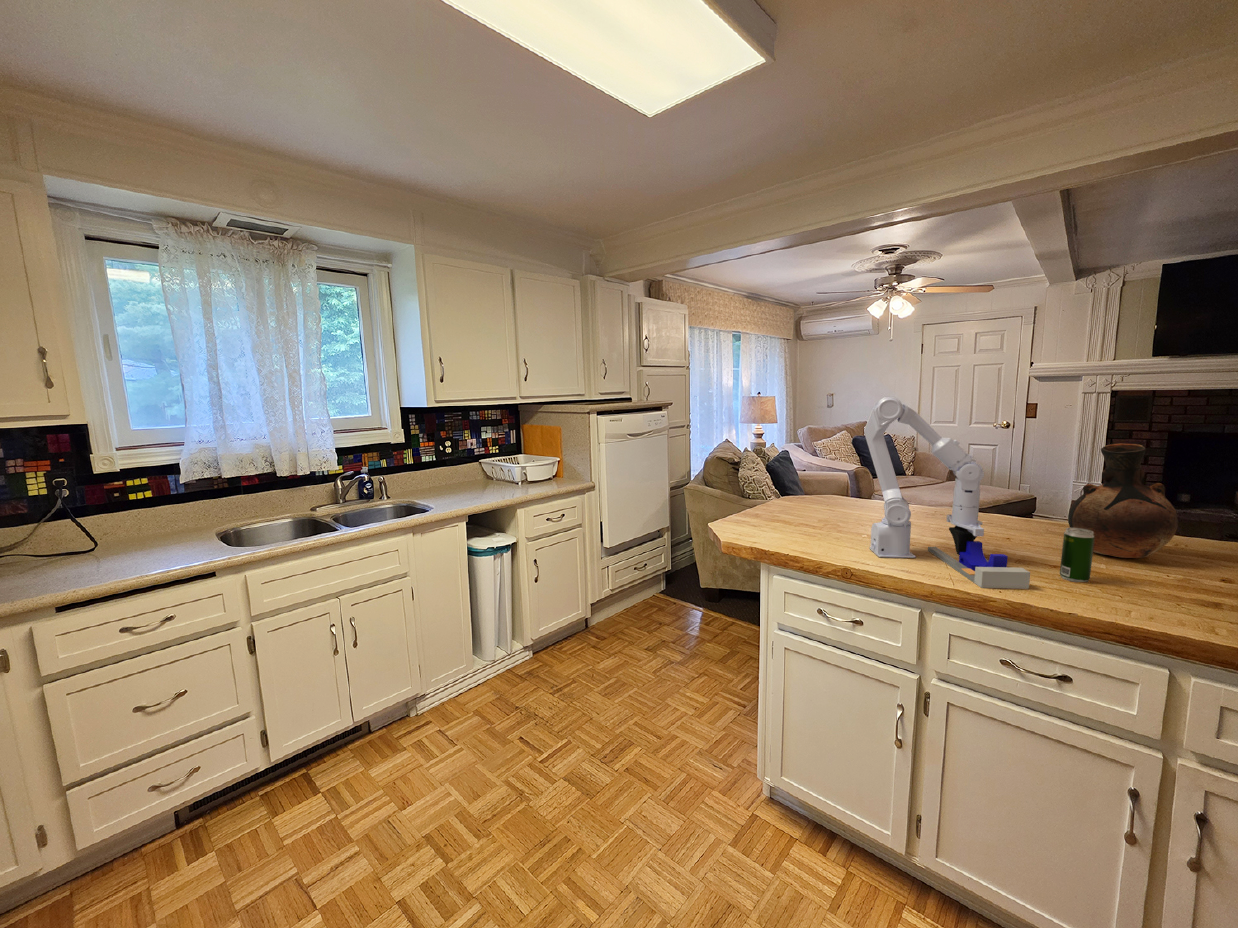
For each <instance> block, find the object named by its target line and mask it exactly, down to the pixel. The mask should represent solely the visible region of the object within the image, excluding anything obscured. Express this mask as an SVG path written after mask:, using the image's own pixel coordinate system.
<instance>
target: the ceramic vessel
mask: <svg viewBox="0 0 1238 928" xmlns="http://www.w3.org/2000/svg"><path fill="white" fill-rule="evenodd" d="M1146 451H1147V448H1146V446H1143V445H1141V444H1136V443H1114V444H1113V443H1112V444H1107V445H1104V446H1103V447H1101V448H1100V452H1101V454H1102V456H1103V458H1104V461H1105V465H1106V468H1105V469H1103V471H1102V472H1101V479H1102V480H1104V483H1102V484H1099V485H1098V486H1097V485H1096V484H1092V483H1088V484H1085V485H1083V489H1082V491H1083V494H1081V495H1080V496H1079V497H1078V498H1077V499H1075V501H1074V502H1073V503H1072V505H1071V507H1070V509H1069V511H1068V516H1067V523H1068V525H1069V528H1082V529H1088V530H1091V531H1093V532H1094V536H1095V539H1094V548H1093V553H1096V554H1100V555H1106V556H1112V557H1117V558H1123V559H1126V558H1127V559H1139V558H1147V557H1148V556H1150V555H1152V554H1154V553H1156V552H1158V551H1159V550H1161V549H1163V548H1164V546H1166V545H1167V544H1168V543H1170V541H1171V540H1172V539H1173V538H1174V537H1175V534H1176V532H1177V529H1178V525H1179V524H1178V512H1177V510H1176V508H1175V507H1174V506H1173V504H1172V502H1171V501H1169V499H1168V498H1167V497H1166V487H1165V485H1164V484H1162V483H1160V482H1157V483H1156V482H1155V483H1153V484H1152V485H1145V484H1143V483H1142V482H1141V481H1142V479H1144V478H1145V471H1144V470H1143V468H1141V465H1142V464H1141V463H1142V461H1143V458H1144V456H1145V454H1146Z"/></svg>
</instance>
